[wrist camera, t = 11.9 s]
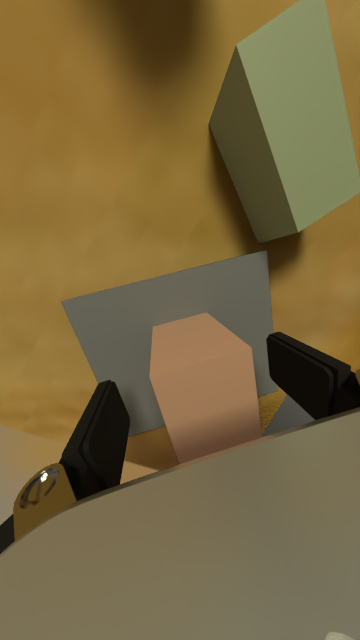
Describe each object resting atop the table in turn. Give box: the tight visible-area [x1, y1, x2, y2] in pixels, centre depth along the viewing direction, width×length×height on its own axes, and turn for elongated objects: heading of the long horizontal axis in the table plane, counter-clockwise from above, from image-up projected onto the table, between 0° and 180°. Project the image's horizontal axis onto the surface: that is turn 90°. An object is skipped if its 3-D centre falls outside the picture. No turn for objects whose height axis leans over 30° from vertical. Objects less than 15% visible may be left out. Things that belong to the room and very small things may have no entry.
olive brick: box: [209, 0, 360, 244], centre depth 10 cm, size 8×4×4 cm, turn 32°
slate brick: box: [262, 395, 315, 437], centre depth 17 cm, size 8×4×4 cm, turn 157°
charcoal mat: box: [61, 250, 278, 437], centre depth 14 cm, size 12×14×2 cm
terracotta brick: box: [149, 312, 262, 464], centre depth 10 cm, size 8×4×6 cm, turn 13°
